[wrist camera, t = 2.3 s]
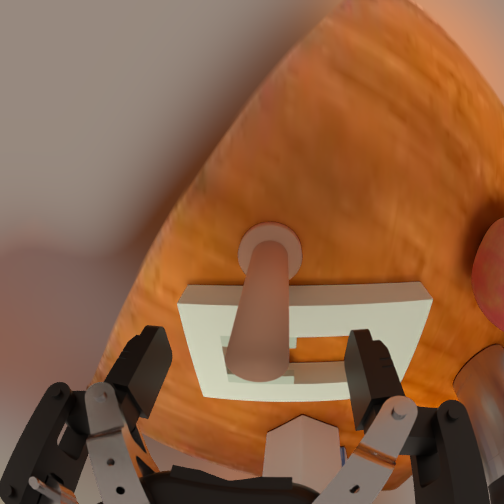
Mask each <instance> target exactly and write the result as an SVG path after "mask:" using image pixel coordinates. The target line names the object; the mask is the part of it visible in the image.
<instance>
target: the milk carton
mask: <svg viewBox="0 0 504 504" xmlns="http://www.w3.org/2000/svg"><path fill="white" fill-rule="evenodd" d="M340 469H341V455H340V442H339V431H338V428H337V427H334V426H331V425H328V424H325V423H323V422H320V421H317V420H315V419H312V418H309V417H307V416H304V415H301V416H299V417H297V418H296V419H294V420H292V421H290V422H288V423H286V424H284V425H282V426H280V427H278V428H276V429H274V430H272V431H270V432H268V433H267V438H266V448H265V457H264V467H263V476H262V477H292V482H293V483H298V484H301V485H305V486H307V487H310V488H312V489H314V490H315V491H317V492H319V493H320V494H321V493H322V492H323V490H324V489H325V488H326V487H327V486H328V484H329V483H330V482H331V481H332V480H333V478H334V477H335V476H336V475H337V473H338V472H339V471H340Z"/></svg>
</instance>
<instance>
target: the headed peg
mask: <svg viewBox="0 0 504 504" xmlns="http://www.w3.org/2000/svg"><path fill="white" fill-rule="evenodd" d="M238 261H239V265H240V267H241V269H242V270H243V272H244V273H245V274H246V278H245V282H244V286H243V290H242V294H241V297H240V301H239V305H238V309H237V313H236V316H235V320H234V324H233V328H232V332H231V336H230V339H229V343H228V347H227V351H226V355H225V363H226V365H227V367H228V369H229V370H230V371H231V372H232V373H233V374H234V375H236V376H238V377H239V378H242V379H244V380H247V381H252V382H268V381H272V380H275V379H277V378H279V377H281V376H282V375H283V374H285V372H286V371H287V369H288V367H289V280H290V279H291V278H292V277H293V276H294V275H295V274H296V273H297V272H298V270H299V268H300V266H301V263H302V249H301V244H300V241H299V239H298V237H297V235H296V234H295V233H294V231H293V230H291V229H290V228H289V227H287V226H286V225H283V224H281V223H277V222H263V223H259V224H257V225H255V226H253V227H252V228H250V229H249V230H248V231H247V232H246V233H245V235H244V236H243V238H242V241H241V243H240V246H239V249H238Z"/></svg>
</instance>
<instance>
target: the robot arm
mask: <svg viewBox="0 0 504 504" xmlns="http://www.w3.org/2000/svg"><path fill="white" fill-rule="evenodd" d="M171 362H172V350H171V347H170V344H169V341H168V338H167V335H166V332H165V329H164V328H163V327H161V326H150V325H147V326H145V328H144V329H143V331H142V332H141V334H140V335H136V336H135V337H133V338H132V339H131V340H130V341H128V343H127V344H126V346H125V348H124V349H123V352H121V354H120V356H119V358H118V359H117V361H116V362H115V364H114V365H113V367H112V369H111V370H110V372H109V374H108V375H107V377H106V379H105V381H104V382H98V383H95V384H93V385H92V386H90V387H89V388H88V389H87V391H71V389H70V388H69V386H68V385H67V384H66V383H63V382H57V383H54V384H53V385H51V386H50V387H49V388H48V389H47V391H46V393H45V394H44V396H43V397H42V399H41V401H40V403H39V404H38V406H37V407H36V409H35V411H34V413H33V415H32V416H31V418H30V420H29V422H28V424H27V425H26V427H25V429H24V431H23V433H22V435H21V437H20V439H19V441H18V443H17V445H16V447H15V449H14V451H13V453H12V456H11V458H10V460H9V462H8V464H7V466H6V469H5V471H4V473H3V476H2V478H1V481H0V497H1V499H2V500H3V502H4V503H5V504H79V503H78V502H77V501H76V497H75V495H74V492H75V489H76V486H77V483H78V480H79V478H80V475H81V472H82V469H83V467H84V464H85V461H86V459H87V456H88V454H89V457H90V460H91V465H92V469H93V472H94V476H95V479H96V483H97V486H98V489H99V492H100V495H101V498H102V502H100V503H98V504H372V503H373V501H374V500H375V498H376V497H377V495H378V494H379V492H380V491H381V489H382V488H383V486H384V485H385V483H386V481H387V480H388V478H389V476H390V475H391V473H392V471H393V469H394V467H395V465H396V463H395V461H396V458H397V457H398V455H410V459H411V466H412V473H413V481H414V491H415V502H416V504H490V500H491V504H504V348H503V347H502V346H501V345H492V346H490V347H488V348H486V349H484V350H483V351H481V352H480V353H478V354H477V355H476V356H475V357H473V358H472V359H471V360H470V361H469V362H468V363H467V364H466V365H465V366H464V367H463V368H462V370H461V371H460V372H459V374H458V375H457V377H456V379H455V381H454V384H453V388H454V390H455V392H456V395H457V397H458V399H459V401H456V400H448V401H445V402H443V403H442V404H441V405H440V406H439V408H428V407H419V406H416V404H415V403H414V402H413V401H412V400H411V399H409V398H407V397H406V396H405V394H404V392H403V389H402V386H401V383H400V380H399V377H398V374H397V371H396V369H395V367H394V363H393V361H392V359H391V355H390V353H389V350H388V348H387V347H386V346H385V345H384V344H383V342H382V341H381V340H373V339H372V336H371V333H370V331H369V329H358V330H351V331H350V334H349V339H348V343H347V348H346V352H345V358H344V367H345V373H346V378H347V383H348V388H349V394H350V399H351V405H352V411H353V417H354V423H355V430H356V431H358V430H364V434H365V436H364V437H363V439H362V440H361V442H360V443H359V445H358V446H357V447H356V449H355V450H354V452H353V453H352V454H351V456H350V457H349V459H348V460H347V461H346V463H345V464H344V465H343V467H342V468H341V469H340V471H339V472H338V473H337V475H336V476H335V477H334V478H333V480H332V481H331V482H330V483H329V484H328V486H327V487H326V488H325V489H324V490H323V492H322V493H321V494H320V493H319V492H317V491H315V490H314V489H312V488H310V487H307V486H305V485H301V484H298V483H293V482H292V477H256V478H250V479H243V480H234V481H228V480H225V479H222V478H219V477H216V476H214V475H211V474H208V473H206V472H203V471H201V470H196V469H190V468H185V467H180V466H175V465H173V466H172V470H171V471H162V472H160V471H159V469H158V467H157V465H156V464H155V462H154V461H153V459H152V458H151V456H150V453H149V451H148V449H147V446H146V444H145V441H144V439H143V436H142V433H141V431H140V428H139V425H138V423H137V421H138V418H139V417H142V418H146V419H148V418H149V416H150V413H151V411H152V408H153V406H154V403H155V401H156V398H157V396H158V394H159V391H160V389H161V386H162V384H163V382H164V379H165V377H166V374H167V372H168V370H169V367H170V365H171ZM65 423H66V424H67V425H68V426H67V428H66V430H65V432H64V435H63V437H62V439H61V441H60V443H59V445H57V439H58V436H59V434H60V432H61V430H62V428H63V426H64V424H65ZM486 481H487V482H486ZM487 485H489V486H488V487H487ZM488 489H489V493H490V500H489V494H488Z"/></svg>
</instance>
